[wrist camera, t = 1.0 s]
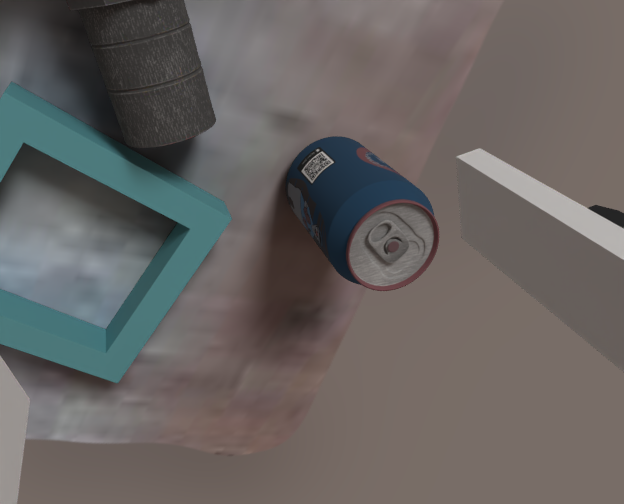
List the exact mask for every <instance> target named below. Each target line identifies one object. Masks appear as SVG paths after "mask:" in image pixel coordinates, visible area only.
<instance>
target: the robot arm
mask: <svg viewBox="0 0 624 504" xmlns="http://www.w3.org/2000/svg"><path fill="white" fill-rule="evenodd" d="M456 161H457V176H458V177H457V178H458V193H459V207H460V223H461V238H462V239H463V240H465V241H466V242H467V243H468V244H469V245H470V246H472V247H473V248H474V249H476V250H477V251H478V252H479V253H481V255H483V256H484V257H485V258H487V260H489V261H490V262H491V263H492V264H493V265H495V266H496V267H497V268H498V269H500V270H501V271H502V272H503V273H505V274H506V275H507V276H508V277H509V278H511V279H512V280H513V281H514V282H515V283H516V284H518V285H519V286H520V287H521V288H522V289H524V290H525V291H526V292H527V293H529V294H530V295H531V296H532V297H534V298H535V299H536V300H537V301H538V302H540V303H541V304H542V305H543V306H544V307H546V308H547V309H548V310H549V311H550V312H551V313H553V314H554V315H555V316H556V317H558V318H559V319H560V320H561V321H562V322H564V323H565V324H566V325H567V326H568V327H570V328H571V329H572V330H573V331H575V332H576V333H577V334H578V335H579V336H581V337H582V338H583V339H584V340H585V341H587V342H588V343H589V344H590V345H591V346H593V347H594V348H595V349H597V351H599V352H600V353H601V354H602V355H603V356H605V357H606V358H607V359H608V360H610V361H611V362H612V363H613V364H614V365H616V366H617V367H618V368H619V369H620V370H622V371H623V372H624V213H622V212H620V211H618V210H614V209H609V208H606V207H602V206H598V205H594V206H592V207H589V208H586V207H584V206H582V205H580V204H579V203H577V202H575V201H573V200H571V199H570V198H568V197H566V196H564V195H563V194H561V193H559V192H557V191H555V190H554V189H552V188H550V187H548V186H546V185H545V184H543V183H541V182H539V181H537V180H536V179H534V178H532V177H530V176H529V175H527V174H525V173H523V172H521V171H519V170H518V169H516V168H514V167H512V166H510V165H509V164H507V163H505V162H503V161H501V160H500V159H498V158H496V157H495V156H493V155H491V154H489V153H487V152H486V151H484V150H482V149H476V150H474V151H471V152H468V153H465V154H462V155H459V156H457V157H456ZM29 403H30V399H29V397H28V396H27V394H26V393H25V392H24V390H23V389H22V387H21V386H20V384H19V383H18V381H17V380H16V378H15V377H14V375H13V374H12V372H11V371H10V369H9V368H8V366H7V365H6V363H5V362H4V360H3V359H2V357H1V356H0V504H17V500H18V492H19V484H20V475H21V467H22V458H23V451H24V443H25V435H26V427H27V419H28V411H29Z"/></svg>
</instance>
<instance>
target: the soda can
mask: <svg viewBox="0 0 624 504" xmlns="http://www.w3.org/2000/svg"><path fill="white" fill-rule="evenodd" d="M286 195H287V199H288V203H289V205H290V207H291V209H292V210H293V212H294V213H295V215H296V216H297V217H298V219H299V220H300V221H301V223H302V224H303V226H304V227H305V228H306V230H307V231H308V232H309V234H310V235H311V237H312V238H313V239H314V241H315V242H316V243H317V245H318V246H319V247H320V249H321V250H322V252H323V253H324V254H325V256H326V257H327V258H328V260H329V261H330V263H331V264H332V265H333V267H334V268H335V269H336V271H337V272H338V273H339V274H340V275H341V276H343V277H344V278H345V279H347V280H349V281H351V282H353V283H356V284H360V285H363V286H365V287H367V288H369V289H372V290H377V291H389V290H395V289H398V288H401V287H403V286H406V285H407V284H409V283H411V282H413V281H414V280H415V279H417V278H418V277H419V276H420V275H421V274H422V273H423V272H424V271H425V270H426V269H427V267H428V266H429V265H430V263H431V262H432V260H433V258H434V256H435V254H436V251H437V248H438V243H439V228H438V224H437V221H436V219H435V217H434V213H433V209H432V206H431V204H430V202H429V200H428V198H427V197H426V196H425V194H424V193H423V192H422V191H421V190H420V189H418V188H417V187H416V186H414V185H413V184H412V183H411V182H409V181H408V180H407V179H405V178H404V177H403V176H401V175H400V174H399V173H398V172H396V171H395V170H394V169H392V168H391V167H390V166H388V165H387V164H386V163H385V162H383V161H382V160H381V159H379V158H378V157H377V156H375V155H374V154H373V153H372V152H370V151H369V150H368V149H366V148H365V147H364V146H362V145H361V144H360V143H358V142H357V141H355V140H352V139H349V138H346V137H327V138H323V139H320V140H318V141H316V142H314V143H312V144H310V145H309V146H307V147H306V148H305V149H304V150H302V151H301V152H300V153H299V155H298V156H297V157H296V158H295V160H294V161H293V163H292V165H291V167H290V169H289V172H288V175H287V180H286Z"/></svg>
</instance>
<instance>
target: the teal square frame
mask: <svg viewBox="0 0 624 504" xmlns="http://www.w3.org/2000/svg"><path fill="white" fill-rule="evenodd" d="M23 142H24V143H26V144H28V145H30V146H32V147H34V148H36V149H37V150H39V151H41V152H43V153H45V154H47V155H49V156H51V157H53V158H55V159H57V160H59V161H61V162H62V163H64V164H66V165H68V166H70V167H72V168H74V169H76V170H78V171H80V172H82V173H84V174H86V175H88V176H89V177H91V178H93V179H95V180H97V181H99V182H101V183H103V184H105V185H107V186H109V187H111V188H113V189H114V190H116V191H118V192H120V193H122V194H124V195H126V196H128V197H130V198H132V199H134V200H136V201H138V202H140V203H141V204H143V205H145V206H147V207H149V208H151V209H153V210H155V211H157V212H159V213H161V214H163V215H165V216H166V217H168V218H170V219H172V220H174V221H176V222H178V223H177V224H176V226H175V227H174V229H173V230H172V232H171V233H170V235H169V236H168V237H167V239H166V240H165V242H164V243H163V245H162V246H161V248H160V249H159V251H158V252H157V254H156V255H155V257H154V258H153V260H152V261H151V263H150V264H149V266H148V267H147V269H146V270H145V272H144V273H143V275H142V276H141V278H140V279H139V281H138V282H137V284H136V285H135V287H134V288H133V290H132V291H131V293H130V294H129V296H128V297H127V299H126V300H125V302H124V303H123V305H122V306H121V308H120V309H119V311H118V312H117V314H116V315H115V317H114V318H113V320H112V321H111V323H110V324H109V326H108V327H107V329H103V328H100V327H98V326H95V325H93V324H90V323H87V322H85V321H82V320H80V319H77V318H74V317H72V316H69V315H67V314H64V313H61V312H59V311H56V310H54V309H51V308H48V307H46V306H43V305H40V304H38V303H35V302H33V301H30V300H27V299H25V298H22V297H20V296H17V295H14V294H12V293H9V292H7V291H4V290H1V289H0V344H2V345H5V346H8V347H11V348H14V349H17V350H20V351H23V352H26V353H29V354H32V355H35V356H38V357H41V358H44V359H47V360H50V361H53V362H56V363H58V364H61V365H64V366H67V367H70V368H73V369H76V370H79V371H82V372H85V373H88V374H91V375H94V376H97V377H100V378H103V379H106V380H109V381H112V382H115V383H118V382H119V381H120V379H121V378H122V377H123V375H124V374H125V372H126V371H127V369H128V368H129V366H130V365H131V364H132V362H133V361H134V359H135V358H136V356H137V355H138V353H139V352H140V351H141V349H142V348H143V346H144V345H145V343H146V342H147V340H148V339H149V338H150V336H151V335H152V333H153V332H154V330H155V329H156V328H157V326H158V325H159V323H160V322H161V320H162V319H163V317H164V316H165V315H166V313H167V312H168V310H169V309H170V307H171V306H172V304H173V303H174V302H175V300H176V299H177V297H178V296H179V294H180V293H181V291H182V290H183V289H184V287H185V286H186V284H187V283H188V281H189V280H190V278H191V277H192V276H193V274H194V273H195V271H196V270H197V268H198V267H199V266H200V264H201V263H202V261H203V260H204V258H205V257H206V255H207V254H208V253H209V251H210V250H211V248H212V247H213V245H214V244H215V242H216V241H217V240H218V238H219V237H220V235H221V234H222V232H223V231H224V229H225V228H226V227H227V225H228V224H229V222H230V221H231V219H232V218H231V215H230V213H229V211H228V209H227V207H226V205H225V203H224V202H223V201H221V200H220V199H218V198H216V197H214V196H213V195H211V194H209V193H207V192H206V191H204V190H202V189H200V188H199V187H197V186H195V185H193V184H191V183H190V182H188V181H186V180H184V179H183V178H181V177H179V176H177V175H176V174H174V173H172V172H170V171H169V170H167V169H165V168H163V167H161V166H160V165H158V164H156V163H154V162H153V161H151V160H149V159H147V158H146V157H144V156H142V155H140V154H139V153H137V152H135V151H133V150H131V149H130V148H128V147H126V146H124V145H123V144H121V143H119V142H117V141H116V140H114V139H112V138H110V137H108V136H107V135H105V134H103V133H101V132H100V131H98V130H96V129H94V128H93V127H91V126H89V125H87V124H86V123H84V122H82V121H80V120H78V119H77V118H75V117H73V116H71V115H70V114H68V113H66V112H64V111H63V110H61V109H59V108H57V107H56V106H54V105H52V104H50V103H48V102H47V101H45V100H43V99H41V98H40V97H38V96H36V95H34V94H33V93H31V92H29V91H27V90H26V89H24V88H22V87H20V86H18V85H17V84H15V83H13V82H11V83H10V85H9V86H8V87H7V89H6V90H5V92H4V94H3V95H2V97H1V99H0V182H1V180H2V179H3V177H4V175H5V173H6V172H7V170H8V168H9V167H10V165H11V163H12V161H13V160H14V158H15V156H16V154H17V153H18V151H19V149H20V148H21V146H22V144H23Z"/></svg>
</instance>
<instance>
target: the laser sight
mask: <svg viewBox="0 0 624 504" xmlns="http://www.w3.org/2000/svg"><path fill="white" fill-rule="evenodd" d="M66 1H67V4H68V6H69V9H70V11H71V10H78V9H79V12H80V15H81V18H82V21H83V23H84V26H85V29H86V32H87V35H88V38H89V42H90V43H91V44H92V46H91V47H92V50H93V52H94V55H95V57H96V60H97V63H98V66H99V68H100V71H101V74H102V76H103V79H104V83H105V86H106V88H107V92H108V94H109V97H110V99H111V102H112V105H113V108H114V110H115V113H116V116H117V119H118V123H119V125H120V128H121V130H122V133H123V136H124V139H125V143H126V144H127V145H128V146H131V147H136V148H150V147H158V146H164V145H169V144H173V143H177V142H180V141H184V140H187V139H189V138H192V137H195V136H197V135H199V134H201V133H203V132H205V131H206V130H208V129H209V128H211V127H212V126H213V125H214V124H215V122H216V118H215V114H214V111H213V108H212V104H211V101H210V97H209V93H208V88H207V85H206V82H205V78H204V73H203V69H202V67H201V62H200V59H199V56H198V52H197V48H196V44H195V40H194V37H193V32H192V28H191V24H190V23H189V17H188V14H187V10H186V7H185V3H184V0H66Z"/></svg>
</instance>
